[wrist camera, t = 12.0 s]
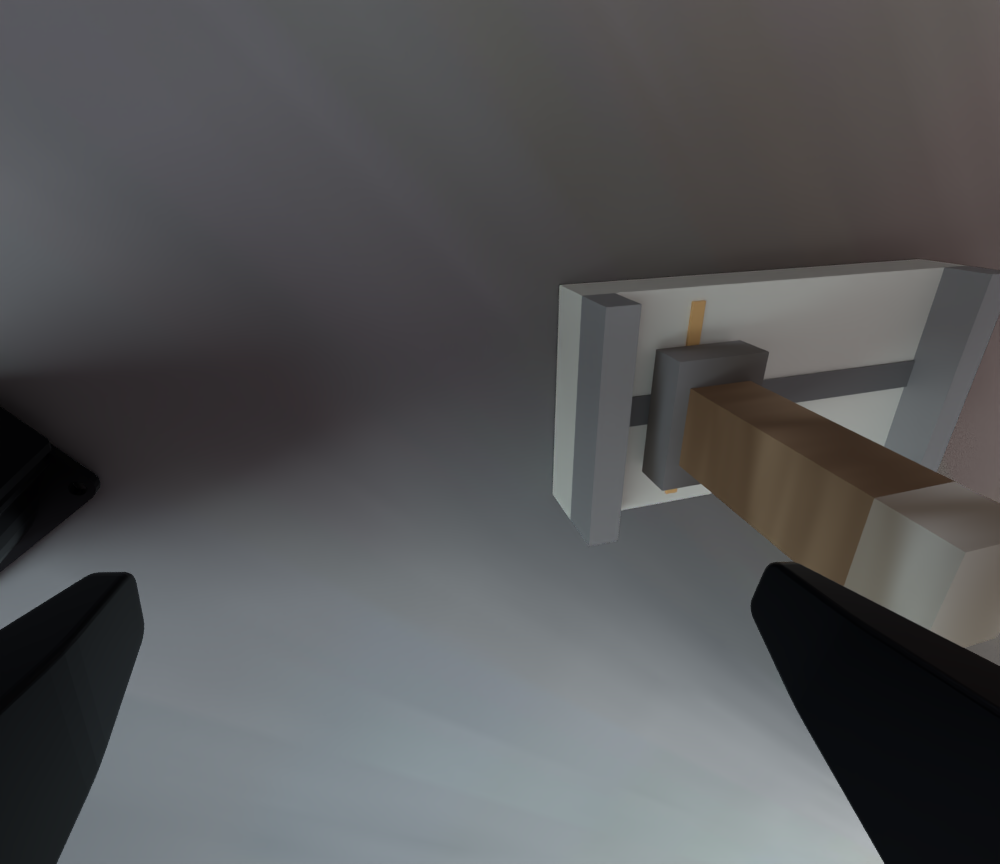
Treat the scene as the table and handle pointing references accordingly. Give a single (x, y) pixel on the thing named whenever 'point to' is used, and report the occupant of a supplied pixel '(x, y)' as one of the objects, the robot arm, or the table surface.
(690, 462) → the fader
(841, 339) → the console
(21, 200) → the table surface
